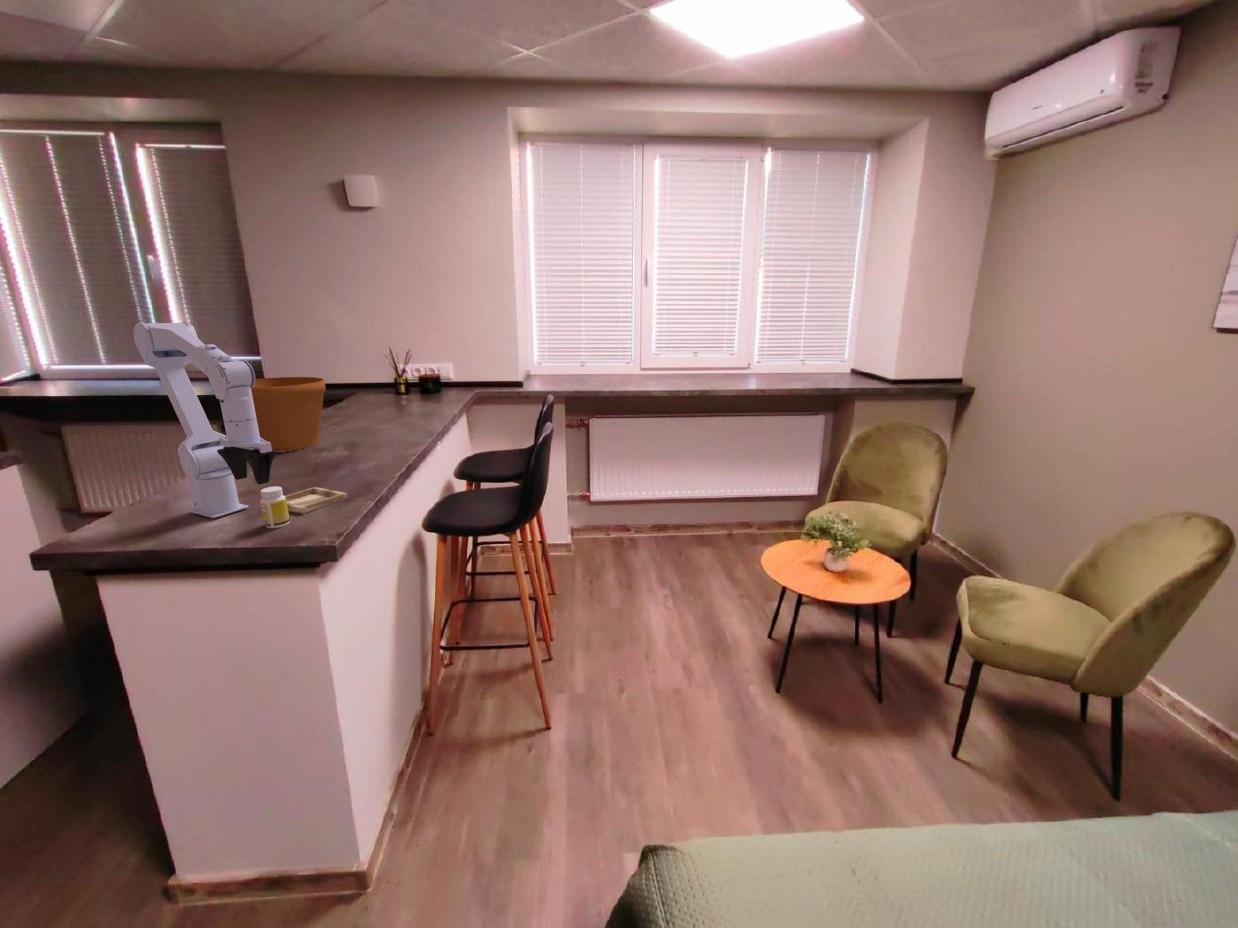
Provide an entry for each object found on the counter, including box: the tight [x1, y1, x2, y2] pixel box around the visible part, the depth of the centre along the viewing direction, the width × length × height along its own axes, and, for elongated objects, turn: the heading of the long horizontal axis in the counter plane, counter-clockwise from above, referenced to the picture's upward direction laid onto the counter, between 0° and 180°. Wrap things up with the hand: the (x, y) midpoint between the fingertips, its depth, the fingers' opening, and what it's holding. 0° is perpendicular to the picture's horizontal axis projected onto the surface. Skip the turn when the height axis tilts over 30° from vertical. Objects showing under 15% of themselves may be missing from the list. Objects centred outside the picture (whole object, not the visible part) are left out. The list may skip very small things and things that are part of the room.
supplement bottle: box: [260, 485, 291, 529], centre depth 119 cm, size 5×5×8 cm
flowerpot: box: [251, 376, 327, 451], centre depth 180 cm, size 28×28×24 cm
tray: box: [284, 486, 348, 516], centre depth 133 cm, size 12×12×2 cm
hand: (252, 480), depth 117 cm, fingers open, 7 cm apart
